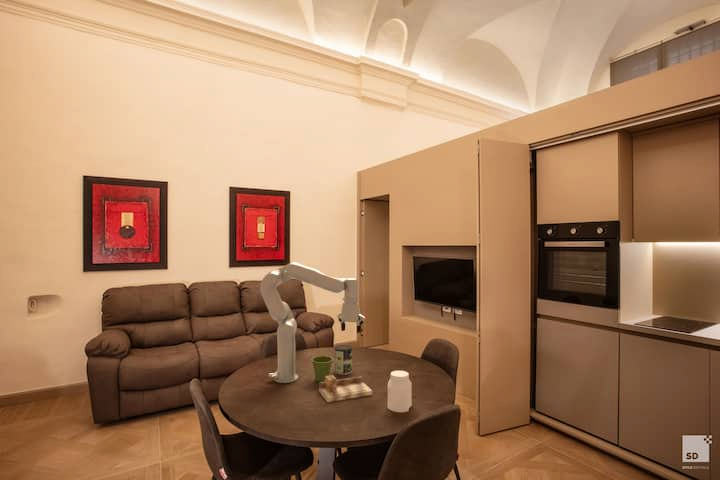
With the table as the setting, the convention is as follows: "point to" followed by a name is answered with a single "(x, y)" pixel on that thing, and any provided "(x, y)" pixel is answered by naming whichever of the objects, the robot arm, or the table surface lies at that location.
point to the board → (346, 389)
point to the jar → (399, 392)
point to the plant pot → (322, 367)
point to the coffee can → (343, 359)
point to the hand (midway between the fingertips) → (351, 331)
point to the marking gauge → (331, 384)
